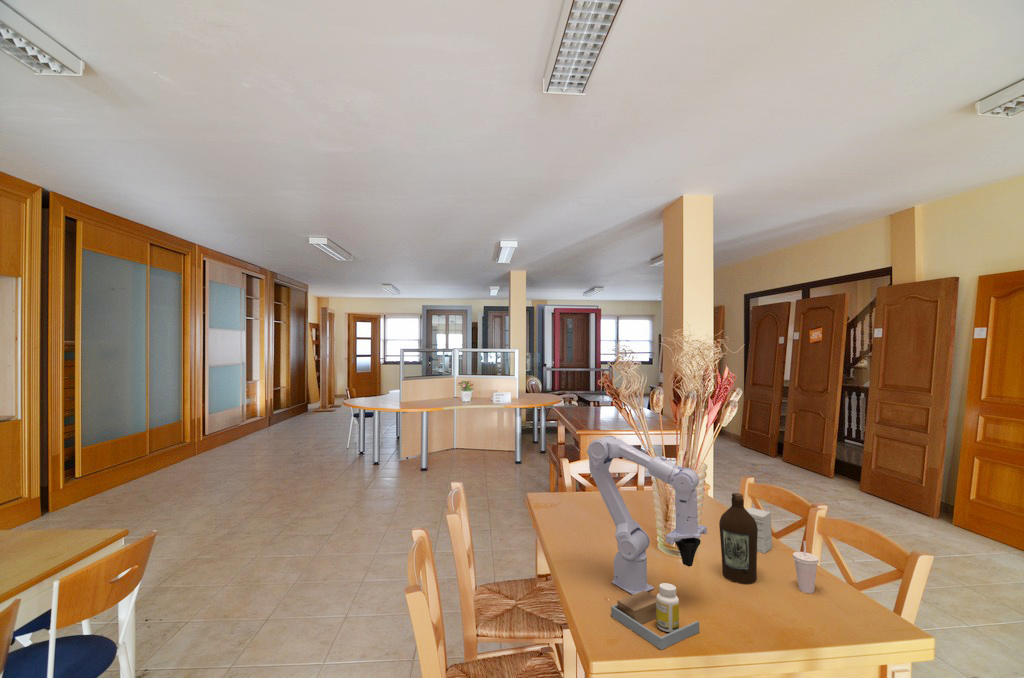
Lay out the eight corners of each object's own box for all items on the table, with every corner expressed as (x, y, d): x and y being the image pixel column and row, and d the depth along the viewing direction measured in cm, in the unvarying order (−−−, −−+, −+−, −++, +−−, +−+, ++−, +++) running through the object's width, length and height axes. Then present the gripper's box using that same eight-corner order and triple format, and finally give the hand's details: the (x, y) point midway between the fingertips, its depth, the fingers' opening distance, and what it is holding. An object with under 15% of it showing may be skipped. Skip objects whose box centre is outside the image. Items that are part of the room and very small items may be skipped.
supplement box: (750, 542, 170) (749, 506, 171) (772, 548, 165) (771, 511, 165) (742, 547, 165) (741, 511, 166) (765, 554, 160) (764, 516, 160)
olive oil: (724, 566, 151) (722, 487, 152) (761, 575, 144) (759, 493, 145) (716, 578, 142) (715, 495, 143) (755, 588, 136) (753, 501, 137)
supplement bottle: (676, 622, 119) (676, 582, 120) (681, 634, 114) (681, 592, 114) (654, 620, 120) (654, 580, 120) (658, 631, 114) (658, 590, 115)
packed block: (617, 615, 122) (617, 600, 122) (644, 605, 127) (644, 590, 127) (634, 627, 117) (634, 610, 117) (662, 615, 122) (662, 600, 122)
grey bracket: (611, 616, 122) (611, 606, 122) (648, 602, 129) (647, 592, 129) (661, 649, 108) (660, 638, 108) (699, 632, 115) (699, 621, 115)
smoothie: (791, 590, 135) (789, 541, 135) (796, 582, 140) (795, 534, 140) (817, 598, 130) (815, 547, 131) (821, 589, 135) (820, 540, 136)
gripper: (680, 523, 122) (681, 576, 121) (716, 514, 129) (717, 564, 128) (659, 515, 128) (660, 566, 127) (694, 507, 135) (695, 555, 135)
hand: (687, 564), depth 128 cm, fingers closed
